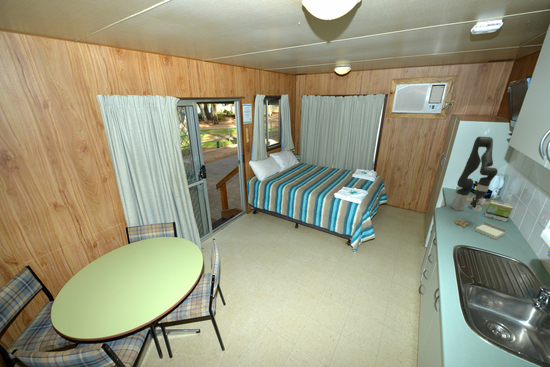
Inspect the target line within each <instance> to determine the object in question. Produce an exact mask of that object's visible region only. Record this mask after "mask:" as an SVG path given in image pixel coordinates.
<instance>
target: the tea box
mask: <svg viewBox="0 0 550 367" xmlns="http://www.w3.org/2000/svg"><path fill="white" fill-rule="evenodd" d="M512 211H513V204H510V203H506V202H501V201H497V200H491V199H490V200H489V203H488V205H487V207H486V209H485V212H484V217H486V218H490V219H494V220H497V221H498V220H499V221H502V222H505V223H507V222H508V220H509V217H510V215H511V213H512Z"/></svg>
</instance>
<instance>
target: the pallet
mask: <svg viewBox="0 0 550 367" xmlns="http://www.w3.org/2000/svg"><path fill="white" fill-rule="evenodd" d="M453 223H454V225H455V224H456V225H458V226H460V227H462V228H465V227H466V226H469V225H470V222H467V221H465V220H462V219H459V218H458V219H457V220H454V222H453Z"/></svg>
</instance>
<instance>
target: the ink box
mask: <svg viewBox="0 0 550 367" xmlns="http://www.w3.org/2000/svg"><path fill="white" fill-rule="evenodd" d="M475 196H476V195H472V196H471V198H470V201H469V203H468V206H467V208H468V209H469V210H473V211H475V212H477V213H478V212H482V210H483V208H484V205H485V203H486V198H485V197H484V198H481V199H478V200H479V202H477V205H476V207H475V208H474V207H472V205H473V203H472V201H473V197H475ZM478 200H477V201H478Z"/></svg>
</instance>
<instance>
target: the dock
mask: <svg viewBox="0 0 550 367" xmlns="http://www.w3.org/2000/svg"><path fill="white" fill-rule="evenodd" d="M474 231H475V232H477V233H479V234H481V233H482V234H481V235H484V234H485V235H484V236H486V235H487V236H486V237H488V236H489V238H491V237H492V238H491V239H493V238H494V239H493V240H497V239H499V238H501V237H502V236H504V235H505V233H506V231H507V228H504V227H501V226H499V225H495V224H493V223H491V222H487V221H484V222H483V224H481V225H478V226H477V227H475V229H474Z"/></svg>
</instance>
